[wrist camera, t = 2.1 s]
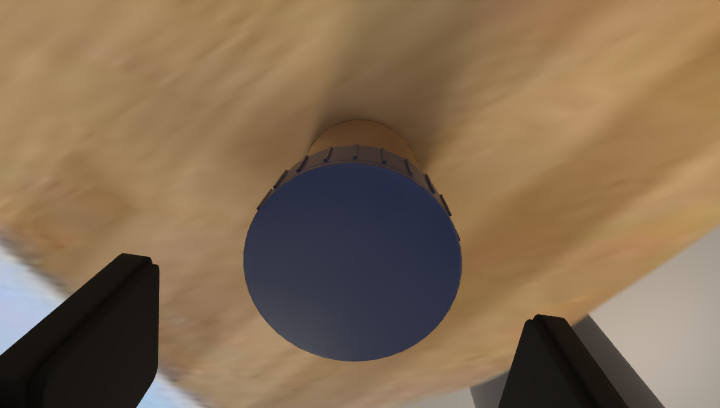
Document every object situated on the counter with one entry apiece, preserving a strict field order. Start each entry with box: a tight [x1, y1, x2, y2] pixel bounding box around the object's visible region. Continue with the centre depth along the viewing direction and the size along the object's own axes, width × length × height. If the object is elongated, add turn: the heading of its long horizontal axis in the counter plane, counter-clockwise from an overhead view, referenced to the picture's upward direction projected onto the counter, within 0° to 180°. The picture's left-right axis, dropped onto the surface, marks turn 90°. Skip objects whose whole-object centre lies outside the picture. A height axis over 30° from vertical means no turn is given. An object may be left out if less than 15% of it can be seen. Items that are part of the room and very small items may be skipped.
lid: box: [243, 143, 462, 361], centre depth 16 cm, size 7×7×3 cm
